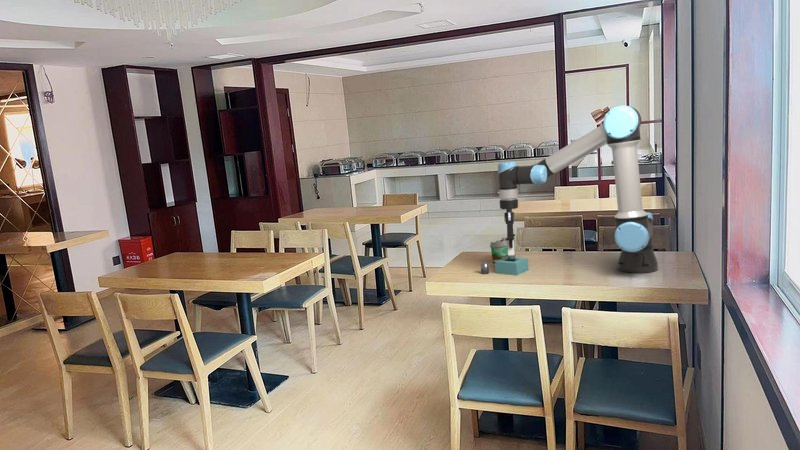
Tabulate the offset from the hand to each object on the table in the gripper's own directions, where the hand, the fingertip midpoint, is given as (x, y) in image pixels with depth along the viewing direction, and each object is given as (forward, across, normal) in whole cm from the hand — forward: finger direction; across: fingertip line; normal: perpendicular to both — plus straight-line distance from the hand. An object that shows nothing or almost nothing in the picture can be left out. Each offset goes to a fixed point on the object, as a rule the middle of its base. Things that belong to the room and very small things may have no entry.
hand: (511, 253), depth 235 cm
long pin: (+8, 0, 0) cm, 8 cm away
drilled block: (+8, 0, 0) cm, 8 cm away
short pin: (+8, +2, -11) cm, 14 cm away
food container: (+8, -20, -4) cm, 21 cm away
